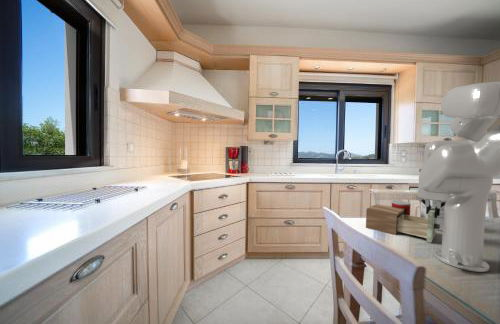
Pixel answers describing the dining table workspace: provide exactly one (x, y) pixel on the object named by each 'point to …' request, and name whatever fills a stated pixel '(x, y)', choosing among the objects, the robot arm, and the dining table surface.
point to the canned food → (402, 206)
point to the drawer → (419, 225)
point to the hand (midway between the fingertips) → (432, 216)
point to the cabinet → (383, 218)
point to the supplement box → (439, 218)
